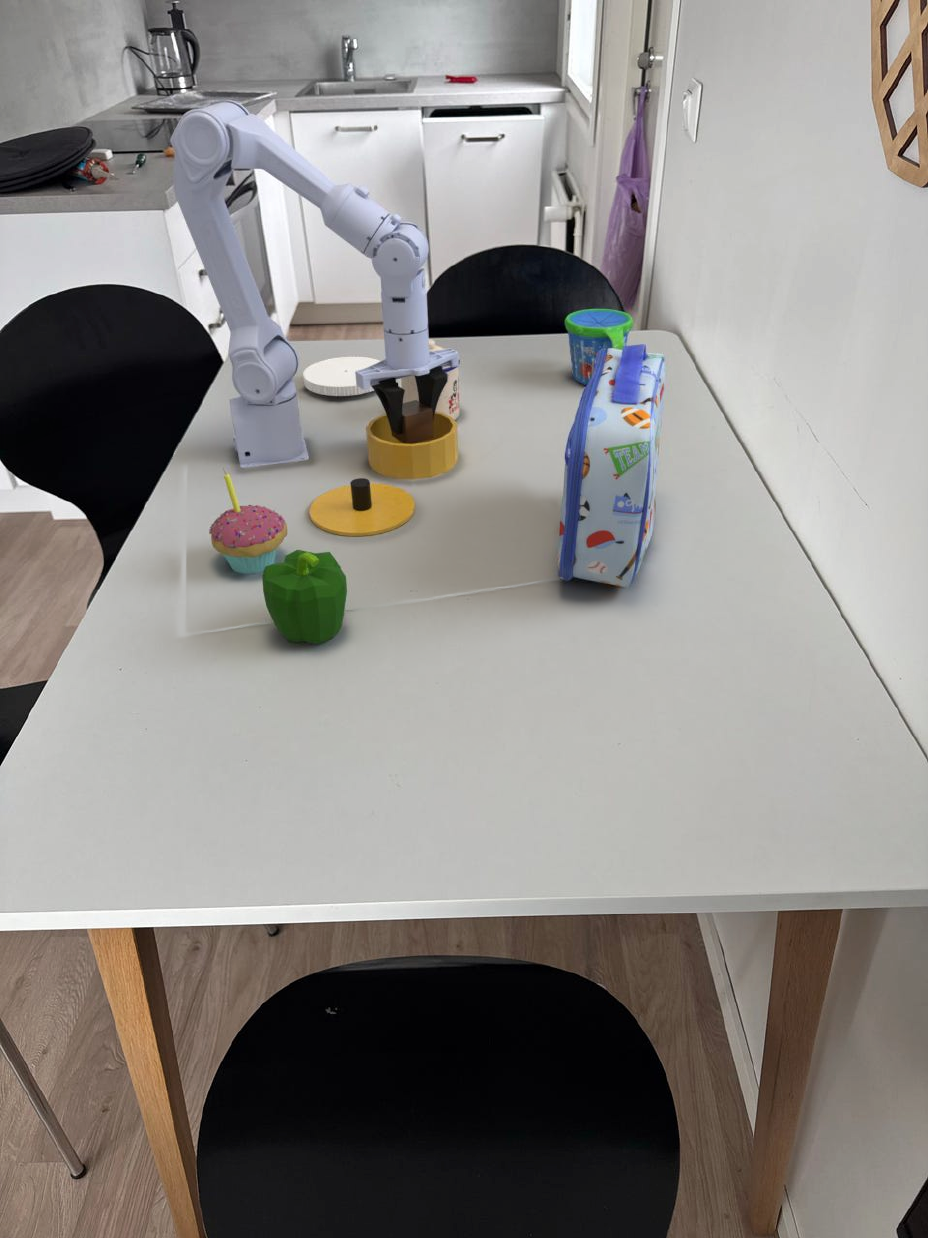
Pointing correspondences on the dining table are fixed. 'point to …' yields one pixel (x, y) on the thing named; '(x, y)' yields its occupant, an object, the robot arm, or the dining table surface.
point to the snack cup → (594, 337)
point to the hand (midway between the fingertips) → (411, 427)
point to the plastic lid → (336, 376)
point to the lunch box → (612, 468)
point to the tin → (412, 450)
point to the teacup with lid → (449, 394)
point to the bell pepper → (306, 596)
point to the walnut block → (415, 423)
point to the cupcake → (247, 534)
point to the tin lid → (362, 509)
